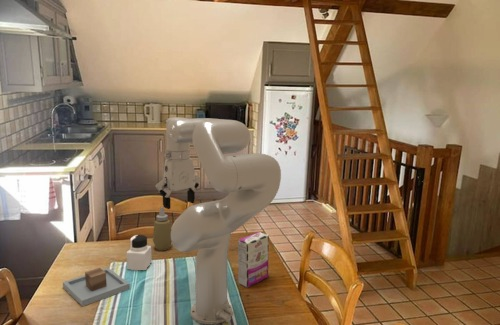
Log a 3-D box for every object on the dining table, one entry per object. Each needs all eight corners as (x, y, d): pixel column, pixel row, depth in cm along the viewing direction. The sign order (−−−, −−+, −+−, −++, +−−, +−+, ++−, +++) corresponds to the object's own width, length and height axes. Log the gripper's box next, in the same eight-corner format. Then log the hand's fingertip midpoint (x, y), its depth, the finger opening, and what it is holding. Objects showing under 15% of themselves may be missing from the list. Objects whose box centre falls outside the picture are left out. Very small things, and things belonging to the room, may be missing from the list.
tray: (129, 288, 134) (129, 283, 133) (82, 306, 123) (81, 300, 122) (108, 272, 145) (108, 267, 144) (63, 287, 134) (62, 282, 133)
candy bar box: (258, 273, 147) (259, 231, 144) (268, 277, 144) (269, 234, 140) (236, 283, 139) (237, 239, 136) (247, 288, 136) (247, 243, 132)
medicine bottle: (151, 263, 153) (151, 233, 151) (145, 271, 146) (144, 240, 144) (134, 261, 154) (133, 232, 152) (126, 270, 147) (125, 239, 145)
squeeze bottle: (176, 247, 169) (175, 206, 166) (163, 253, 162) (162, 211, 159) (162, 242, 173) (161, 203, 170) (149, 249, 166) (147, 208, 163)
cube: (106, 286, 133) (105, 272, 132) (91, 291, 130) (91, 277, 129) (100, 281, 137) (99, 267, 136) (85, 285, 134) (84, 272, 133)
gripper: (162, 159, 121) (163, 213, 125) (206, 154, 133) (206, 202, 137) (149, 156, 126) (150, 207, 130) (192, 151, 138) (193, 198, 142)
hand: (179, 205), depth 133 cm, fingers open, 9 cm apart
